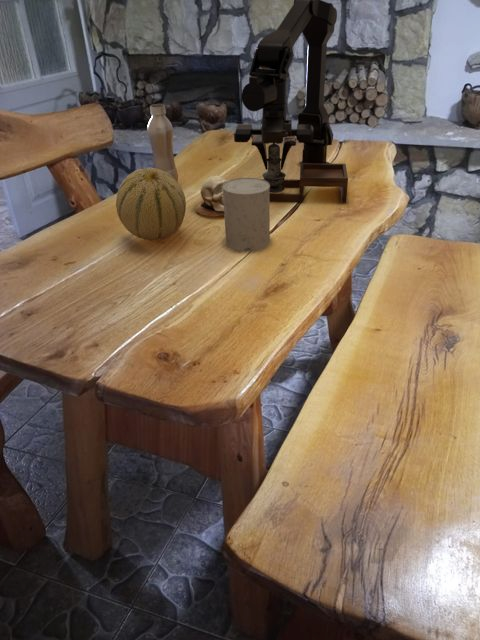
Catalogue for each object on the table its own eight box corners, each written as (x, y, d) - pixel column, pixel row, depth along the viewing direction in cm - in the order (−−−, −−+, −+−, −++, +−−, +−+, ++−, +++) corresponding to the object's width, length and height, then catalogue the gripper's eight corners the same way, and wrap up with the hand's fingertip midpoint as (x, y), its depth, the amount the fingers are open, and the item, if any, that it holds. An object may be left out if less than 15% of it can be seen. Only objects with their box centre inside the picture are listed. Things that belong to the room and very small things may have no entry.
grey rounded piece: (261, 185, 141) (260, 137, 134) (284, 184, 142) (284, 136, 134) (263, 193, 137) (262, 144, 129) (287, 192, 137) (287, 143, 130)
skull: (258, 204, 131) (235, 179, 123) (233, 239, 132) (208, 217, 124) (229, 189, 139) (204, 164, 131) (205, 222, 139) (179, 200, 131)
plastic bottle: (181, 182, 148) (173, 102, 136) (175, 191, 142) (167, 109, 130) (158, 181, 148) (148, 102, 136) (151, 190, 143) (140, 108, 131)
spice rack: (343, 187, 143) (345, 163, 140) (346, 203, 134) (348, 178, 131) (256, 186, 145) (255, 162, 141) (252, 201, 136) (252, 177, 132)
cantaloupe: (149, 218, 128) (140, 153, 119) (202, 230, 122) (196, 162, 113) (106, 243, 117) (93, 173, 109) (162, 257, 112) (152, 185, 103)
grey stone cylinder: (254, 255, 112) (253, 197, 105) (216, 245, 116) (212, 188, 109) (278, 238, 118) (278, 182, 111) (241, 229, 123) (239, 174, 115)
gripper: (230, 110, 121) (233, 180, 130) (314, 110, 120) (311, 180, 129) (235, 98, 130) (237, 165, 139) (314, 98, 129) (311, 165, 138)
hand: (274, 169), depth 136 cm, fingers closed on grey rounded piece, 3 cm apart
